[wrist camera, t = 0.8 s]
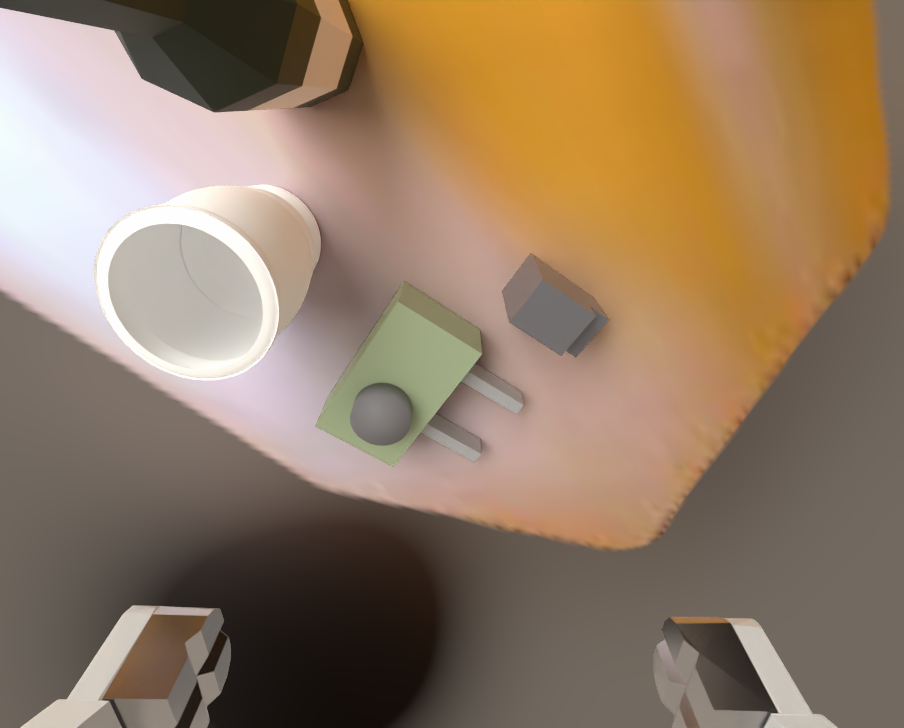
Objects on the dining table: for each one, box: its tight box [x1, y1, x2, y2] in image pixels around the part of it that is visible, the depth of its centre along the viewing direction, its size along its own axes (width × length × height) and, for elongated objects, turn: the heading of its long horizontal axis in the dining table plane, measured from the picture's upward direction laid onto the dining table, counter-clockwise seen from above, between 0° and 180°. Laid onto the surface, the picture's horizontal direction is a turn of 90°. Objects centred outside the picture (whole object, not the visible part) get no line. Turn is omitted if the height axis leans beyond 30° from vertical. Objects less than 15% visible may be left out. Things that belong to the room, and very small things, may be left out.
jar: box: [94, 185, 321, 380], centre depth 36 cm, size 11×10×15 cm
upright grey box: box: [502, 253, 609, 357], centre depth 41 cm, size 4×7×7 cm, turn 56°
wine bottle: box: [0, 0, 363, 112], centre depth 22 cm, size 8×8×30 cm
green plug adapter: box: [315, 281, 524, 467], centre depth 45 cm, size 14×15×7 cm
